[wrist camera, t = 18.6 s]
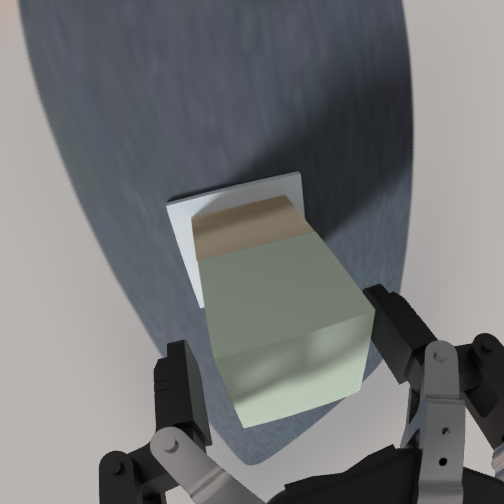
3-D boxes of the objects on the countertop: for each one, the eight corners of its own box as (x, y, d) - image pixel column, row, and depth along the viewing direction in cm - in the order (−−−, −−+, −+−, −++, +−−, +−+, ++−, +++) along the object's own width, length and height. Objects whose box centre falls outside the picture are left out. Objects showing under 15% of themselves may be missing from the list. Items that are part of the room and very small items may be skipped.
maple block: (190, 217, 16) (196, 261, 13) (285, 194, 16) (314, 231, 13) (212, 291, 19) (222, 341, 16) (293, 270, 19) (317, 314, 16)
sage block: (197, 261, 13) (213, 358, 9) (315, 231, 13) (375, 310, 9) (223, 341, 16) (244, 428, 11) (318, 314, 16) (359, 391, 12)
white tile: (166, 203, 16) (166, 206, 15) (297, 171, 16) (300, 173, 16) (199, 303, 20) (200, 308, 19) (306, 274, 20) (308, 278, 20)
